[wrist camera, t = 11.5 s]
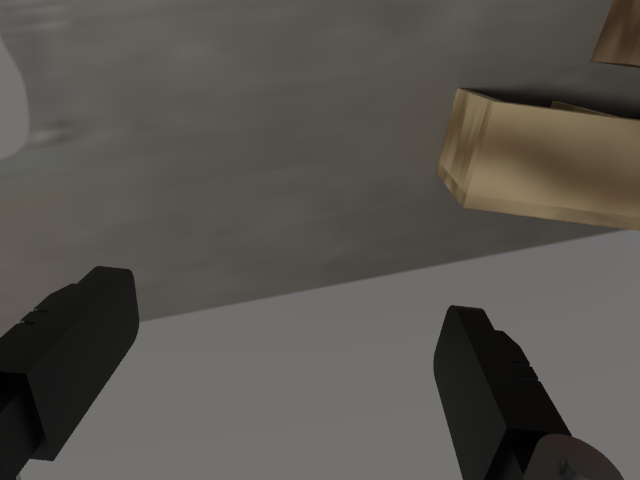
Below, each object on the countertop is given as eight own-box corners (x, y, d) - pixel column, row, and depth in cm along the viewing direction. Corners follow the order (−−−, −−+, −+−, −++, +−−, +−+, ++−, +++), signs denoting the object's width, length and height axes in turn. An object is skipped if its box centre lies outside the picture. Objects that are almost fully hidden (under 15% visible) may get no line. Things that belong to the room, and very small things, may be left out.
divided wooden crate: (457, 88, 35) (494, 101, 26) (651, 114, 35) (747, 135, 27) (436, 171, 38) (462, 207, 30) (612, 195, 38) (688, 237, 30)
